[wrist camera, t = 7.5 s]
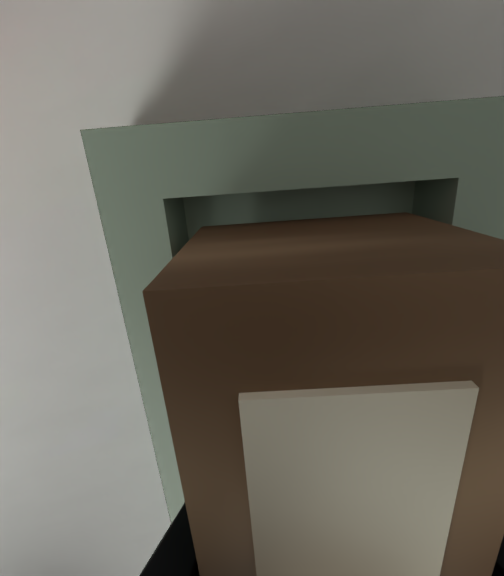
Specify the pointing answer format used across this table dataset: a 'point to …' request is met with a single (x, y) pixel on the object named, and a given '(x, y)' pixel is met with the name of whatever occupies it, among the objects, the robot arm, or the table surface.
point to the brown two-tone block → (336, 395)
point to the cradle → (281, 193)
